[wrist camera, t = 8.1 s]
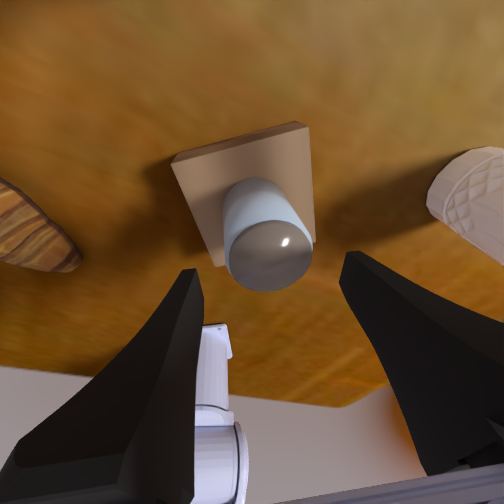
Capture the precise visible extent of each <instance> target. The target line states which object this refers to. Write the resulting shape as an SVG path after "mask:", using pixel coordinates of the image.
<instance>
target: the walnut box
mask: <svg viewBox="0 0 504 504" xmlns="http://www.w3.org/2000/svg"><path fill="white" fill-rule="evenodd" d="M171 166H172V169H173V171H174V173H175V175H176V178H177V180H178V182H179V185H180V187H181V189H182V192H183V194H184V196H185V198H186V201H187V203H188V205H189V208H190V210H191V212H192V215H193V217H194V219H195V222H196V224H197V226H198V228H199V231H200V233H201V235H202V238H203V240H204V242H205V245H206V247H207V249H208V252H209V254H210V256H211V258H212V261H213V263H214V265H215V267H218V266H222V265H226V263H225V250H224V231H223V213H222V207H223V201H224V199H225V196H226V194H227V193H228V192H229V190H230V189H231V188H232V187H233V186H234V185H236V184H237V183H239V182H241V181H243V180H245V179H249V178H263V179H267V180H270V181H271V182H273V183H275V184H276V185H277V186H278V187H279V188H280V189H281V191H282V192H283V194H284V195H285V197H286V198H287V200H288V201H289V203H290V204H291V206H292V208H293V209H294V211H295V212H296V214H297V215H298V217H299V218H300V220H301V221H302V223H303V225H304V226H305V228H306V229H307V231H308V232H309V234H310V236H311V239H312V243H315V242H316V236H315V220H314V204H313V188H312V172H311V155H310V139H309V126H306V125H304V124H302V123H299V122H297V121H294V122H290V123H286V124H283V125H279V126H275V127H272V128H268V129H264V130H261V131H257V132H253V133H250V134H246V135H242V136H239V137H235V138H231V139H228V140H224V141H221V142H217V143H213V144H210V145H206V146H202V147H199V148H195V149H191V150H188V151H184V152H180V153H178V154H177V155H176V157H175V158H174V160H173V161H172V163H171Z"/></svg>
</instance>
